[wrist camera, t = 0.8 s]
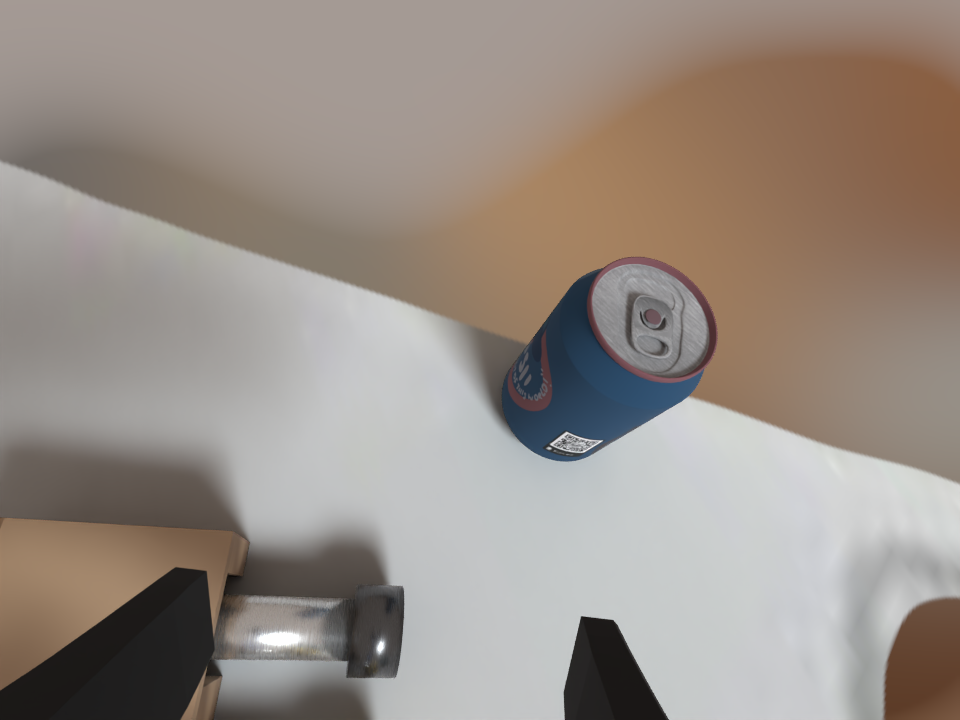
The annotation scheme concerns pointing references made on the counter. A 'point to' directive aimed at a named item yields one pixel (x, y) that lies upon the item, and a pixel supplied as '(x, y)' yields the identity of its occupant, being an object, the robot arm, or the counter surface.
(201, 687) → the catch block
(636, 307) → the soda can
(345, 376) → the counter surface
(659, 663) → the counter surface
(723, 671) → the counter surface
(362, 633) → the plunger
